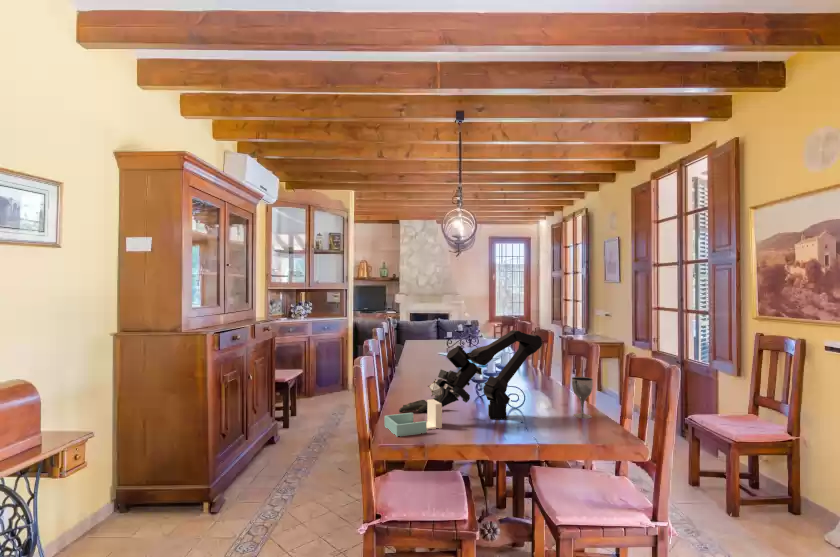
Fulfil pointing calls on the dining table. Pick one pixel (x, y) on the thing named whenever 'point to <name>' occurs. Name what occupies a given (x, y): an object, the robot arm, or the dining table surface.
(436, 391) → the game die
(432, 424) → the bookend
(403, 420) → the box
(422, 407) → the statue
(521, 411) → the dining table surface
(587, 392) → the wine glass
